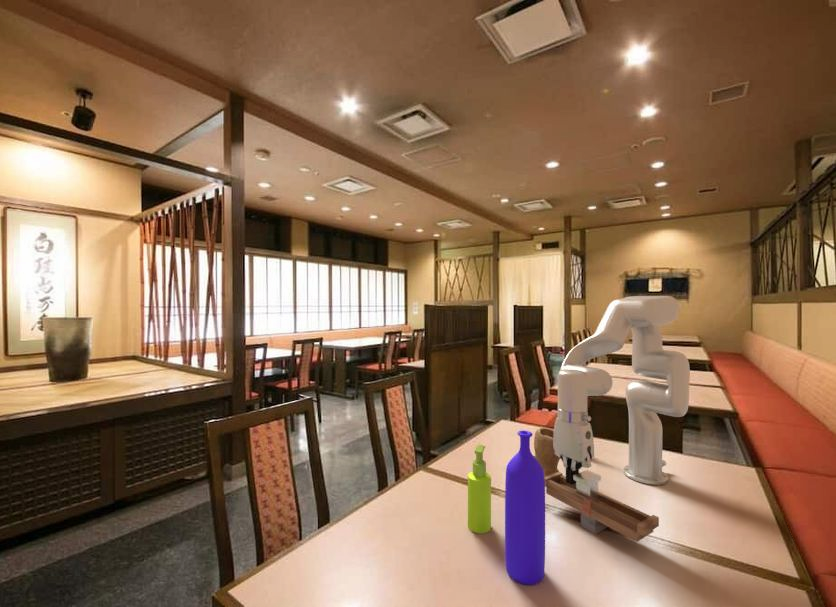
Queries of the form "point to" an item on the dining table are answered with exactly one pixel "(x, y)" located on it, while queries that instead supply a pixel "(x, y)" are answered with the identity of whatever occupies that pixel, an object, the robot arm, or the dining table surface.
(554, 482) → the beam
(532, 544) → the bottle
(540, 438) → the stone cup
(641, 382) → the robot arm
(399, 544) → the dining table surface
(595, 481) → the rider
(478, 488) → the soap dispenser
